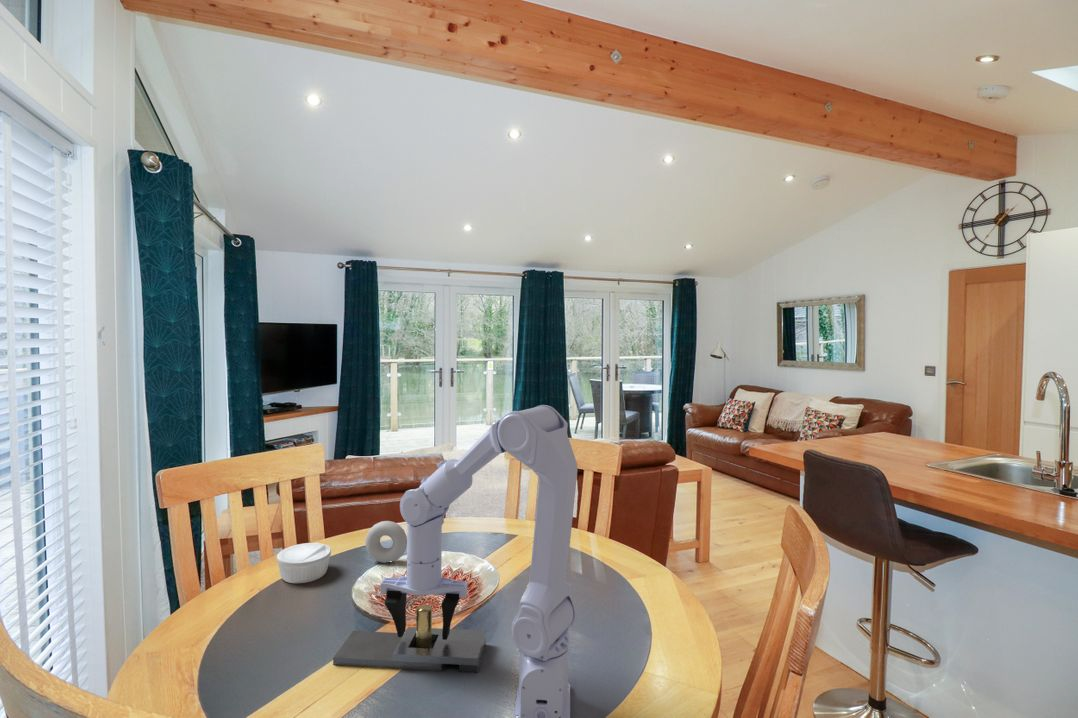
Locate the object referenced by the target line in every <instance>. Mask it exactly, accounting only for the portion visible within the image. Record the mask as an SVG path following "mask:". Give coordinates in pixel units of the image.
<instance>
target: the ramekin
mask: <svg viewBox="0 0 1078 718" xmlns="http://www.w3.org/2000/svg"><path fill="white" fill-rule="evenodd" d="M331 555H332V549H331V547H330V545H328V544H326V543H325V544H324V543H321V542H306V543H303V542H302V543H299V544H294V545H290V546H287V547H286V548H283V549H281V550H280V551H279V552H278V553H277V555H276V562H277V563H278V570H279V575H280V578H281V579H282V580H283V581H284V582H286V583H288V584H306V583H310V582H315V581H317V580H318V579H320V578H322V577H324V575H325V574H326V573H327V572H328V571H327V570H328V567H329V562H330V556H331Z"/></svg>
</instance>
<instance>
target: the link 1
mask: <svg viewBox="0 0 1078 718" xmlns="http://www.w3.org/2000/svg"><path fill="white" fill-rule="evenodd" d="M403 635H404V634H403ZM402 637H403V636H402ZM402 637H398V635H397V632H389V631H388V632H387V631H370V630H369V631H367V630H352V631H351V633H350V635H349V636H348V637H347V639H345V641H344V642H343V644H342V645H341V646H340V648H339V649H338V651H337V652H336V653H335V655H334V656H333V657H332V659H333V660H332V665H333V666H347V667H348V666H352V667H369V668H384V669H385V668H386V669H404V670H422V671H424V670H425V671H440V672H441V671H442V670H443V669H442V668H443V666H444V664H439V663H421V662H403V661H393V652H394V651H395V649H396V647H397V645H398V644H399V642H400V640H401V638H402ZM435 642H436V641H432V649H433V647H434V645H435ZM411 648H416V640H415V641H414V643H413V645H412V647H411Z"/></svg>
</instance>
